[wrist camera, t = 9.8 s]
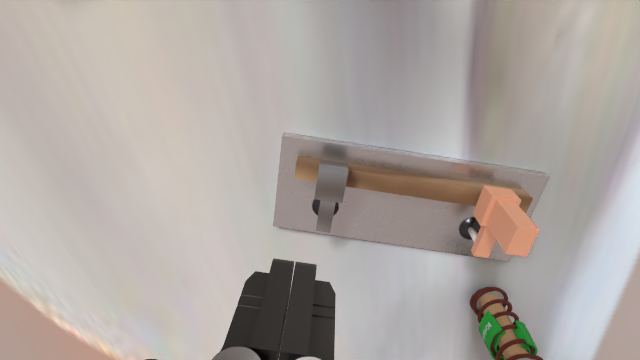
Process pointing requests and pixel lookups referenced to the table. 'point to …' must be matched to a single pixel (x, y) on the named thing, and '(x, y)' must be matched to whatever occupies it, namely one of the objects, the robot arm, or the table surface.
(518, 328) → the shock absorber
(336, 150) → the hole plate
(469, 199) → the beam
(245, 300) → the robot arm
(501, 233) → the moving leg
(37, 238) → the table surface
